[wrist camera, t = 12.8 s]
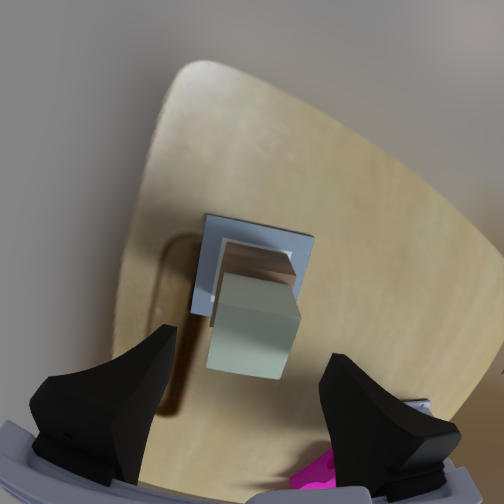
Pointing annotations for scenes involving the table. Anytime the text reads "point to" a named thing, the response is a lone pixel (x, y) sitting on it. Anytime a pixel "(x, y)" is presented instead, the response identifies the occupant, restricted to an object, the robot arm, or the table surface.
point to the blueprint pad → (249, 235)
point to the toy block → (316, 474)
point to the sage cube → (253, 327)
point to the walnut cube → (253, 267)
